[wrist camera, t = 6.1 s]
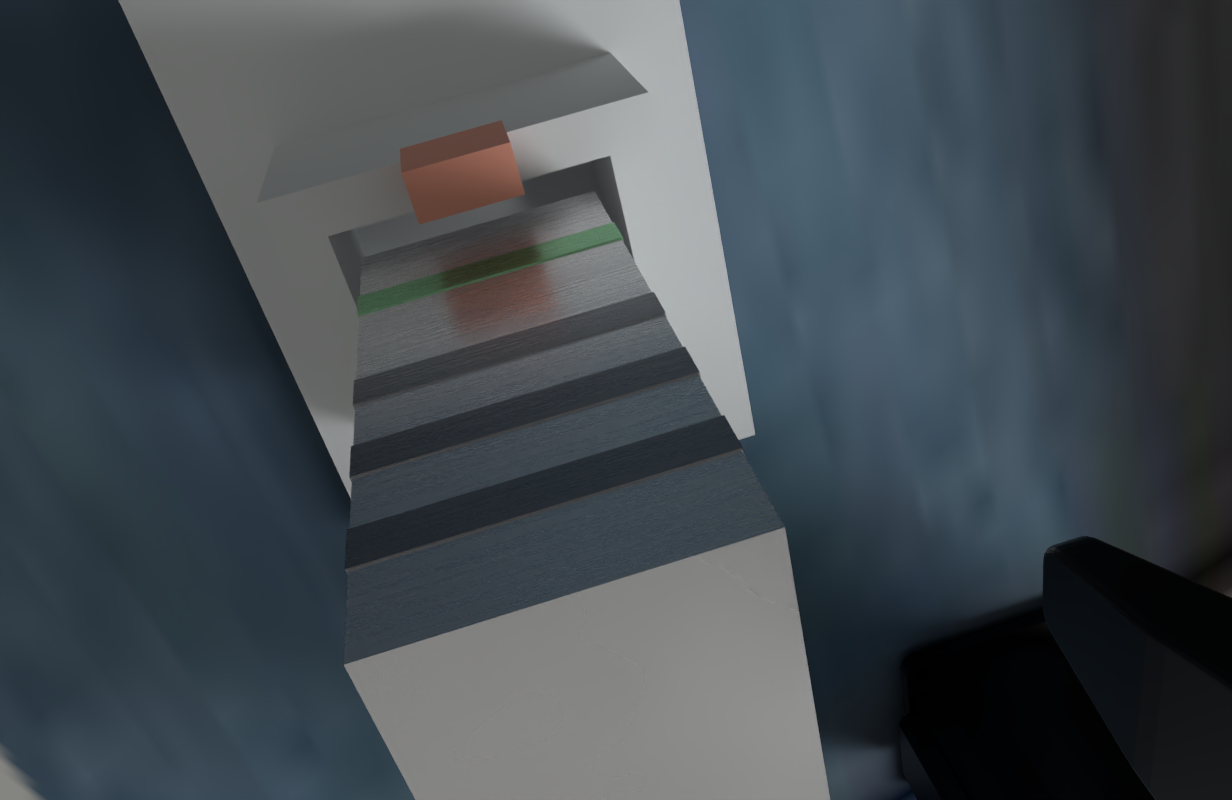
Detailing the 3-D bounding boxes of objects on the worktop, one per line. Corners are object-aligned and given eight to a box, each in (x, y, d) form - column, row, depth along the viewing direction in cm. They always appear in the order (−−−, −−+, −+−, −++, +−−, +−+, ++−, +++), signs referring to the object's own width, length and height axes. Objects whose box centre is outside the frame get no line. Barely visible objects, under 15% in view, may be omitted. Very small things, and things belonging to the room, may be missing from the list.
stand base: (640, -149, 17) (728, -135, 13) (742, 412, 24) (823, 548, 19) (130, -12, 17) (42, 50, 12) (375, 524, 23) (373, 689, 19)
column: (595, 189, 16) (787, 524, 8) (643, 389, 18) (832, 802, 10) (359, 257, 16) (340, 664, 8) (435, 452, 18) (476, 918, 10)
